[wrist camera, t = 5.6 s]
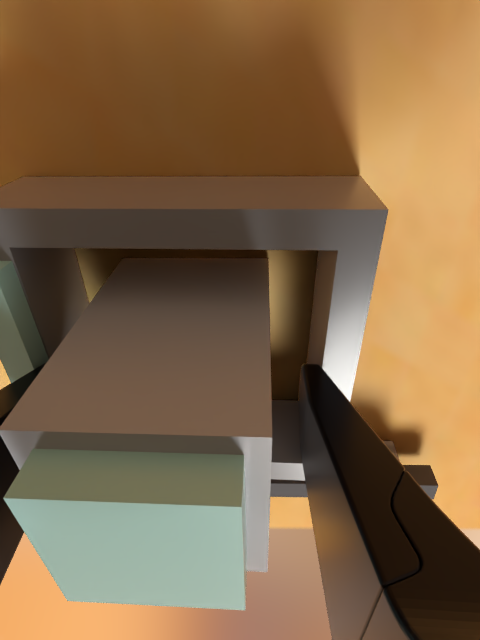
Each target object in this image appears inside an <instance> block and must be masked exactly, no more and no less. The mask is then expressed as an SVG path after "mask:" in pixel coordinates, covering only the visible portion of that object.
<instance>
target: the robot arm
mask: <svg viewBox="0 0 480 640" xmlns="http://www.w3.org/2000/svg"><path fill="white" fill-rule="evenodd" d="M47 362H48V361H47ZM47 362H46V363H47ZM46 363H44V364H42V365H41V366H39V367H37V368H36V369H34V370H32V371H31V372H29V373H27V374H26V375H24V376H22V377H21V378H19V379H17V380H16V381H14V382H12V383H11V384H9V385H7V386H6V387H4V388H2V389H1V390H0V426H1V425H2V424H3V422H4V421H5V419H6V418H7V417H8V415H9V414H10V413H11V411H12V410H13V408H14V407H15V406H16V404H17V403H18V401H19V400H20V399H21V397H22V396H23V395H24V393H25V392H26V390H27V389H28V388H29V386H30V385H31V384H32V382H33V381H34V379H35V378H36V377H37V375H38V374H39V373H40V371H41V370H42V368H43V367H44V366H45V364H46ZM299 419H300V443H301V457H302V464H303V470H304V476H305V482H306V488H307V494H308V500H309V506H310V512H311V518H312V524H313V530H314V535H315V541H316V547H317V553H318V559H319V565H320V571H321V577H322V583H323V589H324V595H325V600H326V607H327V613H328V618H329V624H330V630H331V636H332V640H480V550H479V548H478V547H477V546H475V545H474V544H473V542H472V541H471V540H470V539H469V538H468V537H467V536H466V535H465V534H464V533H463V532H462V531H461V530H460V529H459V528H458V527H457V526H456V525H455V524H454V523H453V522H452V521H451V520H450V519H449V518H448V517H447V516H446V515H445V514H444V513H443V511H442V510H441V509H440V508H439V507H438V506H437V505H436V504H435V503H434V502H433V500H432V499H431V498H430V497H429V496H428V495H427V494H426V492H425V491H424V490H423V489H422V488H421V487H420V486H419V484H418V483H417V482H416V481H415V479H414V478H413V477H412V476H411V475H410V473H409V472H408V471H405V468H404V466H403V465H402V464H401V463H400V462H399V460H398V459H397V458H396V457H395V456H394V454H393V453H392V452H391V451H390V449H389V448H388V447H387V446H386V445H385V443H384V442H383V441H382V440H381V439H380V437H379V436H378V435H377V434H376V433H375V431H374V430H373V429H372V428H371V427H370V425H369V424H368V423H367V422H366V421H365V419H364V418H363V417H362V416H361V414H360V413H359V412H358V411H357V410H356V408H355V407H354V406H353V405H352V404H351V402H350V401H349V400H348V399H347V398H346V396H345V395H344V394H343V393H342V392H341V390H340V389H339V388H338V387H337V386H336V384H335V383H334V382H333V381H332V379H331V378H330V377H329V376H328V375H327V373H326V372H325V371H324V370H323V369H322V367H321V366H320V365H318V364H302V366H301V371H300V382H299ZM19 471H20V470H19V468H18V466H17V464H16V463H15V461H14V459H13V457H12V455H11V453H10V452H9V450H8V448H7V446H6V444H5V443H4V441H3V439H2V437H1V435H0V584H1V582H2V580H3V578H4V575H5V573H6V571H7V568H8V567H9V564H10V562H11V560H12V558H13V555H14V553H15V551H16V549H17V547H18V544H19V542H20V540H21V538H22V535H23V533H24V531H23V529H22V527H21V526H20V524H19V523H18V521H17V519H16V518H15V516H14V515H13V513H12V511H11V510H10V508H9V507H8V505H7V503H6V502H5V500H4V499H3V498H4V496H5V494H6V493H7V491H8V489H9V488H10V486H11V484H12V483H13V481H14V479H15V478H16V476H17V474H18V473H19Z"/></svg>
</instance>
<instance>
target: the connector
mask: <svg viewBox="0 0 480 640" xmlns="http://www.w3.org/2000/svg"><path fill="white" fill-rule="evenodd" d="M0 435H1V437H2V439H3V441H4V443H5V444H6V446H7V448H8V450H9V452H10V453H11V455H12V457H13V459H14V461H15V463H16V464H17V466H18V468H19V470H20V471H19V473H18V474H17V476H16V478H15V479H14V481H13V483H12V484H11V486H10V488H9V489H8V491H7V493H6V494H5V496H4V498H3V499H4V500H5V502H6V503H7V505H8V507H9V508H10V510H11V511H12V513H13V515H14V516H15V518H16V519H17V521H18V523H19V524H20V526H21V527H22V529H23V531H24V532H25V534H26V535H27V537H28V539H29V540H30V542H31V543H32V545H33V546H34V548H35V550H36V551H37V553H38V554H39V556H40V558H41V559H42V561H43V563H44V564H45V566H46V567H47V569H48V570H49V572H50V573H51V575H52V577H53V578H54V580H55V582H56V583H57V585H58V586H59V588H60V590H61V591H62V593H63V594H64V596H65V598H66V599H67V601H80V602H97V603H118V604H136V605H137V604H138V605H155V606H176V607H194V608H214V609H232V610H245V604H246V575H247V574H246V573H247V571H257V572H267V571H268V543H269V515H270V488H271V460H272V401H271V355H270V308H269V262H268V258H122V260H121V261H120V262H119V264H118V265H117V267H116V268H115V269H114V271H113V272H112V273H111V275H110V276H109V278H108V279H107V280H106V282H105V283H104V284H103V286H102V287H101V289H100V290H99V291H98V293H97V294H96V295H95V297H94V298H93V300H92V301H91V302H90V304H89V305H88V306H87V308H86V309H85V311H84V312H83V313H82V315H81V316H80V317H79V319H78V320H77V322H76V323H75V324H74V326H73V327H72V329H71V330H70V331H69V333H68V334H67V335H66V337H65V338H64V340H63V341H62V342H61V344H60V345H59V346H58V348H57V349H56V351H55V352H54V353H53V355H52V356H51V357H50V359H49V360H48V362H47V363H46V364H45V366H44V367H43V368H42V370H41V371H40V373H39V374H38V375H37V377H36V378H35V379H34V381H33V382H32V384H31V385H30V386H29V388H28V389H27V390H26V392H25V393H24V395H23V396H22V397H21V399H20V400H19V401H18V403H17V404H16V406H15V407H14V408H13V410H12V411H11V413H10V414H9V415H8V417H7V418H6V419H5V421H4V422H3V424H2V425H1V426H0Z"/></svg>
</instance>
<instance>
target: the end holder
mask: <svg viewBox="0 0 480 640" xmlns="http://www.w3.org/2000/svg"><path fill="white" fill-rule="evenodd" d="M387 214H388V209H387V207H386V206H385V205H384V204H383V202H382V201H381V200H380V199H379V198H378V196H377V195H376V194H375V193H374V192H373V190H372V189H371V188H370V187H369V185H368V184H367V183H366V182H365V181H364V179H363V178H362V177H361V176H50V177H21V178H19V179H17V180H15V181H12V182H10V183H8V184H6V185H4V186H2V187H0V360H1V362H2V364H3V366H4V368H5V370H6V373H7V375H8V377H9V379H10V381H11V383H12V382H14V381H16V380H17V379H19V378H21V377H22V376H24V375H26V374H27V373H29V372H31V371H32V370H34V369H36V368H37V367H39V366H41V365H42V364H44V363H46V362H47V361H48V360H49V359H50V357H51V356H52V355H53V353H54V352H55V351H56V349H57V348H58V346H59V345H60V344H61V342H62V341H63V340H64V338H65V337H66V335H67V334H68V333H69V331H70V330H71V329H72V327H73V326H74V324H75V323H76V322H77V320H78V319H79V317H80V316H81V315H82V313H83V312H84V311H85V309H86V308H87V306H88V305H89V302H88V298H87V294H86V291H85V287H84V283H83V280H82V276H81V272H80V269H79V265H78V261H77V258H76V254H75V250H74V248H123V249H232V250H318V259H317V269H316V278H315V288H314V298H313V307H312V317H311V326H310V336H309V346H308V355H307V364H318V365H320V366H321V367H322V369H323V370H324V371H325V372H326V373H327V375H328V376H329V377H330V378H331V379H332V381H333V382H334V383H335V384H336V386H337V387H338V388H339V389H340V390H341V392H342V393H343V394H344V395H345V396H346V398H347V399H348V400H349V401H350V400H351V395H352V390H353V385H354V380H355V375H356V370H357V365H358V360H359V355H360V350H361V345H362V340H363V335H364V329H365V324H366V319H367V314H368V309H369V304H370V299H371V294H372V289H373V284H374V279H375V274H376V269H377V264H378V259H379V254H380V249H381V244H382V239H383V234H384V229H385V224H386V219H387ZM271 401H272V460H271V479H280V480H303V481H305V476H304V470H303V464H302V457H301V443H300V419H299V401H292V400H271Z"/></svg>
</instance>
